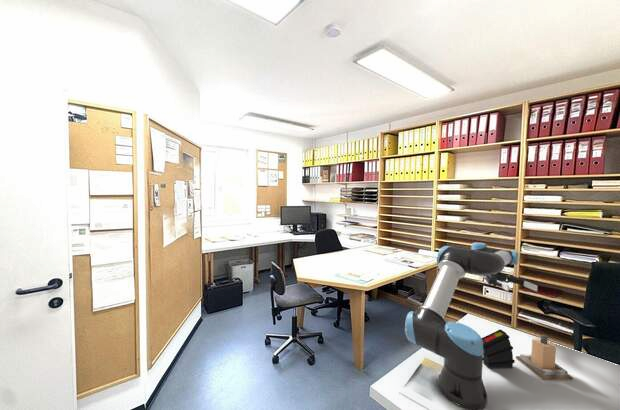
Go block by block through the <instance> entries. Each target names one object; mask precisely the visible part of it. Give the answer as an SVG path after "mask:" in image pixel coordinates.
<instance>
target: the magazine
mask: <svg viewBox="0 0 620 410" xmlns="http://www.w3.org/2000/svg"><path fill="white" fill-rule="evenodd" d="M481 338H482V341H483V351H484V353H483V364H482V365H484V366H486V368H487V369H513V368H514V366H513V364H515V362H516V361H515V359H514V357H513V356H514V355H513V350H514V346H512V345H511V341H510V338H511V337H510V335H508V334H507V332H506V331H504V330H502V329H501V328H500V329H498V330H496V331H494V332H492V333H490V334H487V335H486V336H483V337H481Z"/></svg>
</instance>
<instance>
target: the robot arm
mask: <svg viewBox="0 0 620 410" xmlns="http://www.w3.org/2000/svg"><path fill="white" fill-rule="evenodd" d="M437 252H438V253H437V256H436V264H437V266H438V269H439V271H438V273H437V275H436V277H435V279H434V281H433V284H432V285H431V288H430V290H429V292H428V294H427V297H426V299H425V300H424V302H423V305H421V306H418V307H417V308H416V310H415V311H412V310H411V311H409V312H408V313H407V315H406V317H405V322H404V324H405V325H404V333H405V337H406V338H407V340H408V341H409V342H410V343H413V344H414V345H416V346H417V347H420V348H422V349H424V350H426V351H429V352H431V353H433V354H434V355H437V356H439V357H440V358H441V357H442V358H443V359H444V362H443V363H444V364H443V366H442V368H441V370H440V373H439V374H438V378H437V380H438V381H437V386H438V389H439V390H440V392H441V394H443V396H444V395H445V396H446V397H445V396H444V397H445V398H446V399H447V400H449V401H450V400H451V401H450V402H452V401H453V402H455V403H457V404H459V405H460V406H459V405H458V406H459V407H461V408H464V409H466V410H483V409H485V408H487V405H488V394H487V390H486V387H485V384H484V381H483V365H484V364H483V353H484V351H483V341H482V338H483V337H481V335H480V334H479V333H478V332H477V331H476V330H475V329H473V328H472V327H470V326H468V325H466V324H463V323H461V322H455V321H448V322H447V321H446V319H445V316H446V313H447V310H448V308H449V307H450V306H449V305H450V303H451V301H452V298H453V296H454V293H455V291H456V288H457V285H458V283H459V281H460V279H462V278H464V277H465V276H466V274H470V275H474V276H479V277H481V278H482V279H484V280H486V283H488V285H490V286H491V285H493V287H494V288H495V287H499V288H501V289H503V290H505V291H506V292H508V291H510V285H509V284H507V283H511V284H517V285H519V286H520V285H521V286H523V287H525V288H527V289H529V290H532V291H535V292H538V287H539V285H537V284H534V283H532V282H530V280H528V279H527V278H521V277H517V276H514V275H510V274H507V275H505V274H503V273H501V272H502V271H503V270H504V269H505V266H507V265H508V264H509V265H513V266H516V265H518V264H519V259H520V257H519V252H518V251H514V250H509V249H502V248H501V249H500V248H495V247H488V245H487V243H483V242H479V241H478V242H476V241H475V242H472V243H471V248H465V247H464V248H463V247H458V246H453V245H451V246H450V245H443V246H442V247H440V249H439V250H438V251H437ZM453 402H452V403H453ZM455 403H454V404H455ZM457 404H456V405H457Z"/></svg>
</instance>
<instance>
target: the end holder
mask: <svg viewBox="0 0 620 410" xmlns="http://www.w3.org/2000/svg"><path fill="white" fill-rule="evenodd" d="M515 359H516V360H518V361H519V362H520V364H522V365H524V366H525V367H526V368H527V369H529V370H530V371H531V372H532V373H534V375H536V376H537V377H539V378H540V379H541V380H562V381H563V380H565V381H568V380H569V381H573V379H574V378H573V376H571V375H570V374H569V373H568V371H567V370H566V369H564V368H563V367H562V366H560V365H559V364H557V363H556V362H555V370H545V369H541V368H540V367H539V366H537V365H536V364H535V363H533V362H532V361H531V354H520V355H517V356H515Z"/></svg>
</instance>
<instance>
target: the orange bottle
mask: <svg viewBox="0 0 620 410" xmlns="http://www.w3.org/2000/svg"><path fill="white" fill-rule="evenodd" d="M531 340H532V341H531V354H530V355H531V361H532V362H533V363H535V364H536V365H537V366H539V367H540V368H541V369H545V370H555V363H556V356H557V355H556V351H557V346H556V345H554V344H552V343H551V342H549V340H548V336H547V335H545V334H540V338H539V339H538V338H537V339H536V338H532V339H531Z"/></svg>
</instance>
